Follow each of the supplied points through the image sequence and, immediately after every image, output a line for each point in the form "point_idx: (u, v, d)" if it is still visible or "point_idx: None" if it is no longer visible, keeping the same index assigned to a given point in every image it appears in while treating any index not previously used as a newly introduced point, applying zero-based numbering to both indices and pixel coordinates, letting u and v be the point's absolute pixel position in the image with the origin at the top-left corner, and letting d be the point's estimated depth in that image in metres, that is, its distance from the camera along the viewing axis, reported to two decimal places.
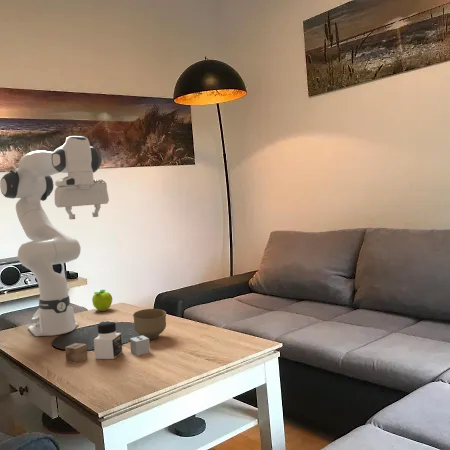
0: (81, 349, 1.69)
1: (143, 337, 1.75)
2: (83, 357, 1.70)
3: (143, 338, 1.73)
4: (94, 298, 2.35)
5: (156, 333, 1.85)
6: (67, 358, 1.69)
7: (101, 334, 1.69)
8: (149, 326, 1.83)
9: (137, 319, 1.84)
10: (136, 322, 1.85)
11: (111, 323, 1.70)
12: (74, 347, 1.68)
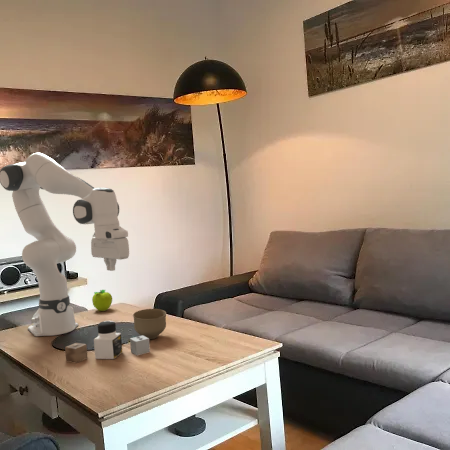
0: (81, 349, 1.69)
1: (143, 337, 1.75)
2: (83, 357, 1.70)
3: (143, 338, 1.73)
4: (94, 298, 2.35)
5: (156, 333, 1.85)
6: (67, 358, 1.69)
7: (101, 334, 1.69)
8: (149, 326, 1.83)
9: (137, 319, 1.84)
10: (136, 322, 1.85)
11: (111, 323, 1.70)
12: (74, 347, 1.68)
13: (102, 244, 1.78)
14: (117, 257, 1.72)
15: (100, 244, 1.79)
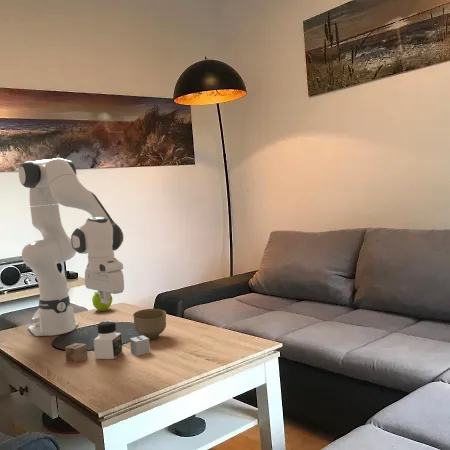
0: (81, 349, 1.69)
1: (143, 337, 1.75)
2: (83, 357, 1.70)
3: (143, 338, 1.73)
4: (94, 298, 2.35)
5: (156, 333, 1.85)
6: (67, 358, 1.69)
7: (101, 334, 1.69)
8: (149, 326, 1.83)
9: (137, 319, 1.84)
10: (136, 322, 1.85)
11: (111, 323, 1.70)
12: (74, 347, 1.68)
13: (96, 276, 1.70)
14: (111, 291, 1.63)
15: (94, 275, 1.71)
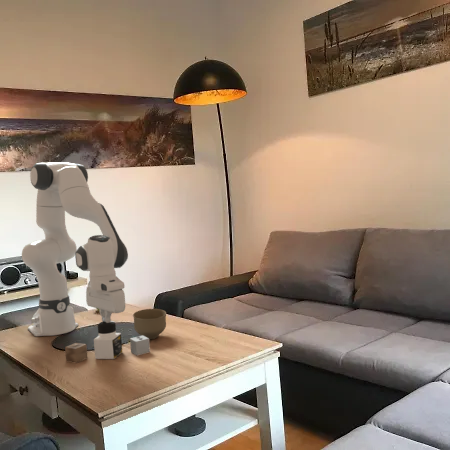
0: (81, 349, 1.69)
1: (143, 337, 1.75)
2: (83, 357, 1.70)
3: (143, 338, 1.73)
4: None
5: (156, 333, 1.85)
6: (67, 358, 1.69)
7: (101, 334, 1.69)
8: (149, 326, 1.83)
9: (137, 319, 1.84)
10: (136, 322, 1.85)
11: (111, 323, 1.70)
12: (74, 347, 1.68)
13: (97, 294, 1.71)
14: (112, 311, 1.64)
15: (95, 294, 1.71)
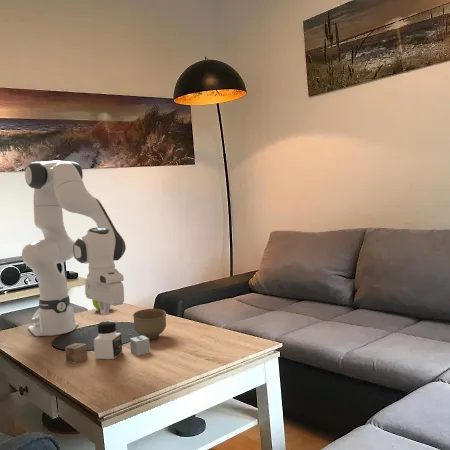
0: (81, 349, 1.69)
1: (143, 337, 1.75)
2: (83, 357, 1.70)
3: (143, 338, 1.73)
4: None
5: (156, 333, 1.85)
6: (67, 358, 1.69)
7: (101, 334, 1.69)
8: (149, 326, 1.83)
9: (137, 319, 1.84)
10: (136, 322, 1.85)
11: (111, 323, 1.70)
12: (74, 347, 1.68)
13: (96, 287, 1.70)
14: (111, 303, 1.64)
15: (94, 286, 1.71)
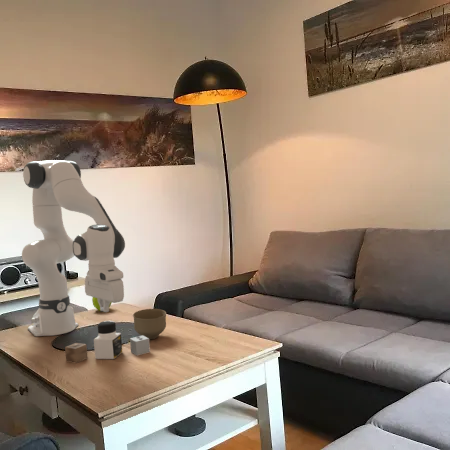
0: (81, 349, 1.69)
1: (143, 337, 1.75)
2: (83, 357, 1.70)
3: (143, 338, 1.73)
4: (94, 298, 2.35)
5: (156, 333, 1.85)
6: (67, 358, 1.69)
7: (101, 334, 1.69)
8: (149, 326, 1.83)
9: (137, 319, 1.84)
10: (136, 322, 1.85)
11: (111, 323, 1.70)
12: (74, 347, 1.68)
13: (96, 284, 1.70)
14: (111, 300, 1.64)
15: (94, 283, 1.71)
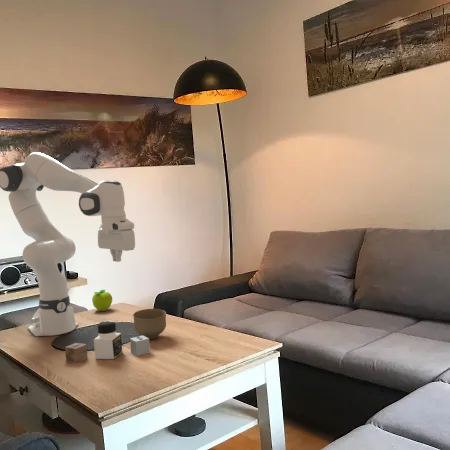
0: (81, 349, 1.69)
1: (143, 337, 1.75)
2: (83, 357, 1.70)
3: (143, 338, 1.73)
4: (94, 298, 2.35)
5: (156, 333, 1.85)
6: (67, 358, 1.69)
7: (101, 334, 1.69)
8: (149, 326, 1.83)
9: (137, 319, 1.84)
10: (136, 322, 1.85)
11: (111, 323, 1.70)
12: (74, 347, 1.68)
13: (109, 235, 1.82)
14: (123, 248, 1.76)
15: (107, 235, 1.83)
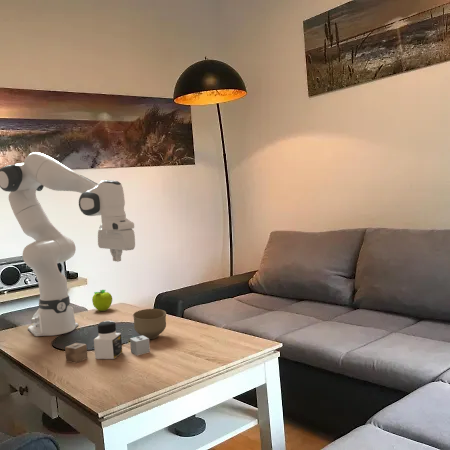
0: (81, 349, 1.69)
1: (143, 337, 1.75)
2: (83, 357, 1.70)
3: (143, 338, 1.73)
4: (94, 298, 2.35)
5: (156, 333, 1.85)
6: (67, 358, 1.69)
7: (101, 334, 1.69)
8: (149, 326, 1.83)
9: (137, 319, 1.84)
10: (136, 322, 1.85)
11: (111, 323, 1.70)
12: (74, 347, 1.68)
13: (109, 235, 1.82)
14: (123, 248, 1.76)
15: (107, 235, 1.83)
